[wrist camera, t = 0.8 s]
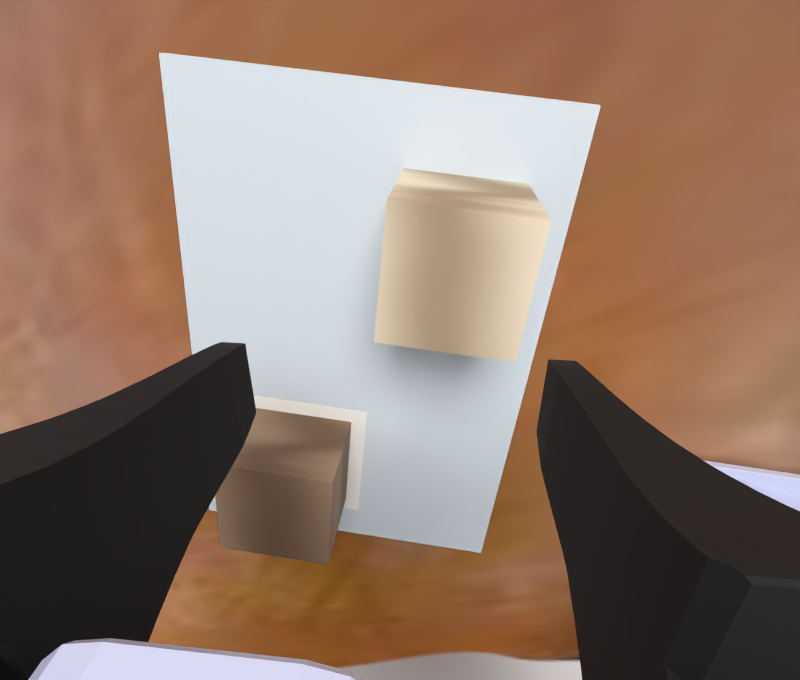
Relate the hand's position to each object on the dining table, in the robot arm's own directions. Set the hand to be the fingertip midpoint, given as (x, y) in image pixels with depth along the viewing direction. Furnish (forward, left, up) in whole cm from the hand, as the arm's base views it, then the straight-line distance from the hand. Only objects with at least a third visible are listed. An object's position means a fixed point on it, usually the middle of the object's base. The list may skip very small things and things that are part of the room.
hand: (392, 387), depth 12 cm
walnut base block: (+5, +11, -9) cm, 15 cm away
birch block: (-1, -1, -9) cm, 9 cm away
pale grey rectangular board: (+2, +5, -9) cm, 11 cm away
